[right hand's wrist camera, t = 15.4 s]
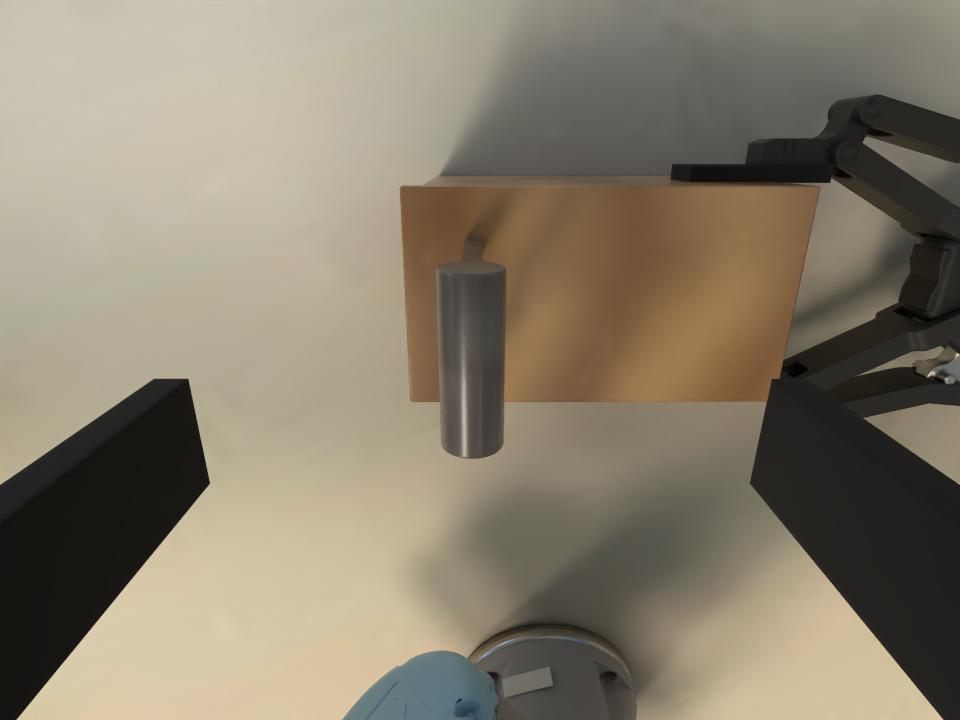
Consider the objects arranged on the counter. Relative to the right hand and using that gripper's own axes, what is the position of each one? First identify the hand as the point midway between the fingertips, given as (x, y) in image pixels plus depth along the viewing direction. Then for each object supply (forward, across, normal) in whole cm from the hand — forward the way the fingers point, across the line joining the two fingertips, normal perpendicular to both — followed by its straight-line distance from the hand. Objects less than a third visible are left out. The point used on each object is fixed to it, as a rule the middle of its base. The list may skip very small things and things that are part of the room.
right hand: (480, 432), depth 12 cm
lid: (+12, -5, 0) cm, 14 cm away
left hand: (+17, -10, 0) cm, 19 cm away
